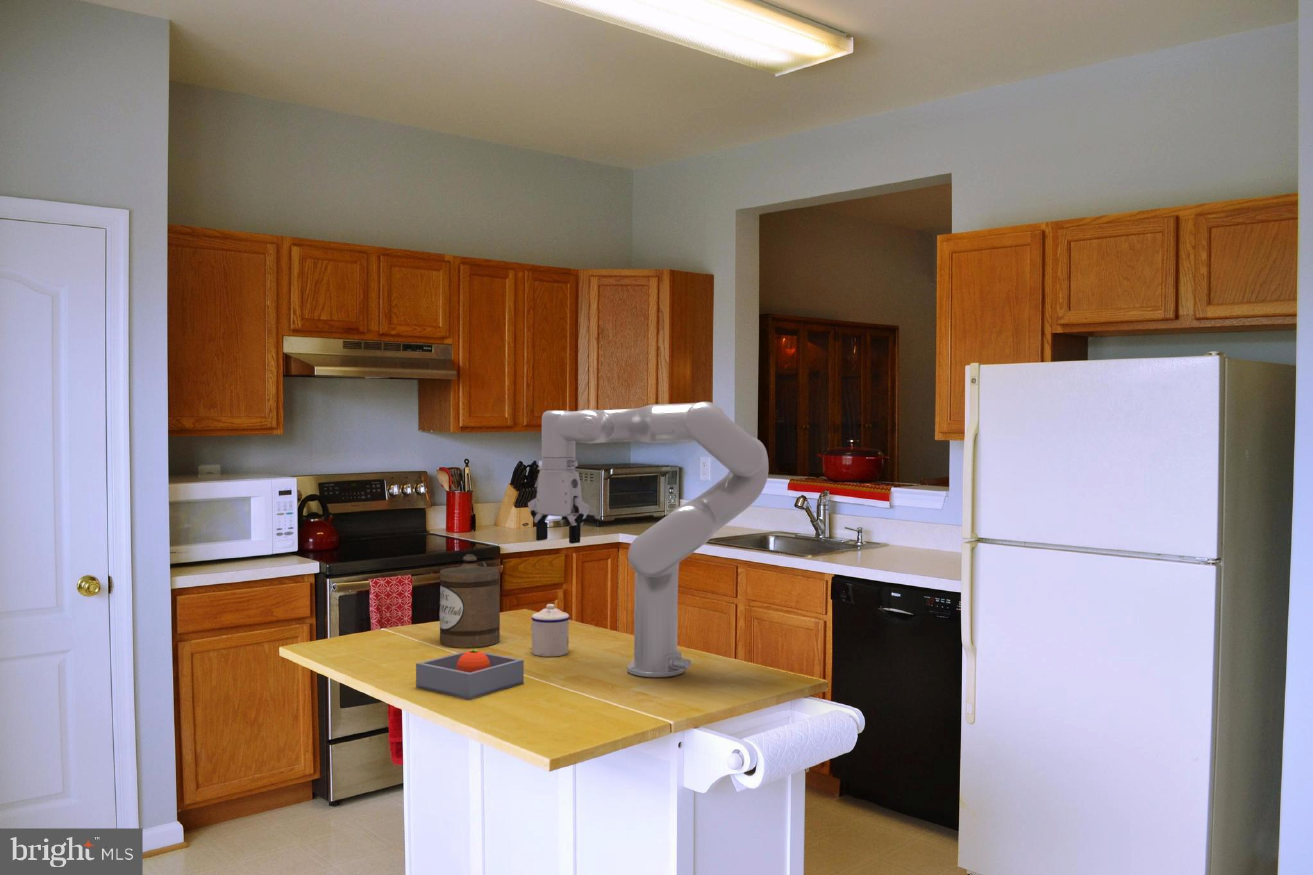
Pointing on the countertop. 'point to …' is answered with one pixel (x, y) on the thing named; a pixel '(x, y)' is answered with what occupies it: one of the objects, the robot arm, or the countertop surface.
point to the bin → (469, 676)
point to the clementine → (473, 661)
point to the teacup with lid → (550, 632)
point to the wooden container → (469, 605)
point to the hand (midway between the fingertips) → (558, 541)
